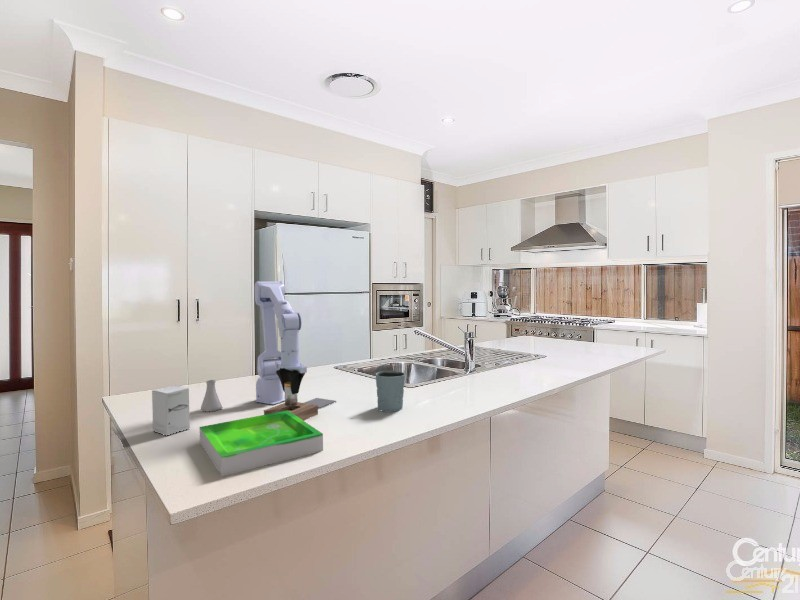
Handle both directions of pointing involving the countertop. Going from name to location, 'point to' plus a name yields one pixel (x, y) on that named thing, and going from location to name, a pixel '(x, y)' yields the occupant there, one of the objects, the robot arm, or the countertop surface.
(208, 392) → the flask
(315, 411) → the housing
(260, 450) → the tray
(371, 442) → the countertop surface
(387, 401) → the grey cup
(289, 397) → the glass jar
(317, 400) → the mat
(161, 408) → the supplement box
